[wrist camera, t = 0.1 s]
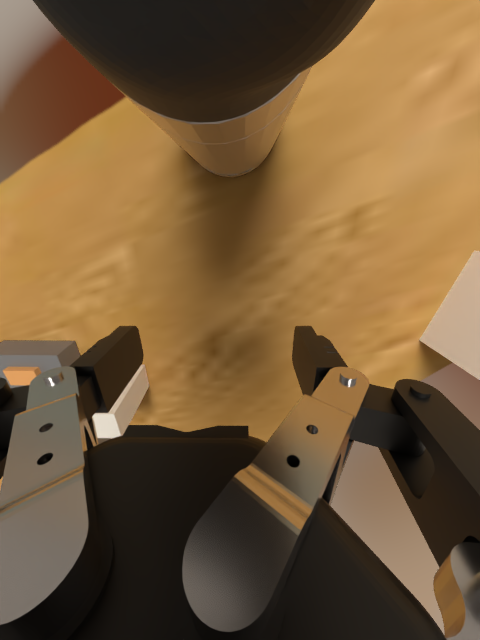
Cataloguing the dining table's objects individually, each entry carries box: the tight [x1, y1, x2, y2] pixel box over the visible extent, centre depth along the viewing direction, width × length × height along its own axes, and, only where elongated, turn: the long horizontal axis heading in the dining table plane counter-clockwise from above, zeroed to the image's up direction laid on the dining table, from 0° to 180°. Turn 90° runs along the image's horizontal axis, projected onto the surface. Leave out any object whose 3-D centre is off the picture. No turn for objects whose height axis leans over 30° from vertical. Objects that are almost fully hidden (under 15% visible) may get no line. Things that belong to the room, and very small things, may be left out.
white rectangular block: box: [92, 365, 149, 438], centre depth 31 cm, size 4×4×9 cm
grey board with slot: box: [0, 340, 111, 444], centre depth 35 cm, size 22×10×4 cm, turn 0°
